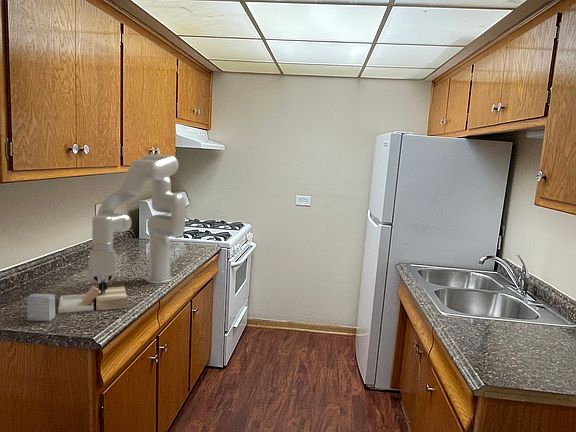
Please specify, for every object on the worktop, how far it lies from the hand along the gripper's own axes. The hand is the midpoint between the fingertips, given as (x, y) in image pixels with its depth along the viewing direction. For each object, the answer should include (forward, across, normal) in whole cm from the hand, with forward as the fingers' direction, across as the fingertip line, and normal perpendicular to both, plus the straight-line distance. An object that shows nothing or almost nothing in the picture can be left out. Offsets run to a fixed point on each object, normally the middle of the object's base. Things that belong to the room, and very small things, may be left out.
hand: (102, 291), depth 176 cm
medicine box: (+5, -20, -12) cm, 24 cm away
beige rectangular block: (+5, +3, 0) cm, 6 cm away
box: (+5, -9, 0) cm, 11 cm away
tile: (+2, -4, 0) cm, 4 cm away
